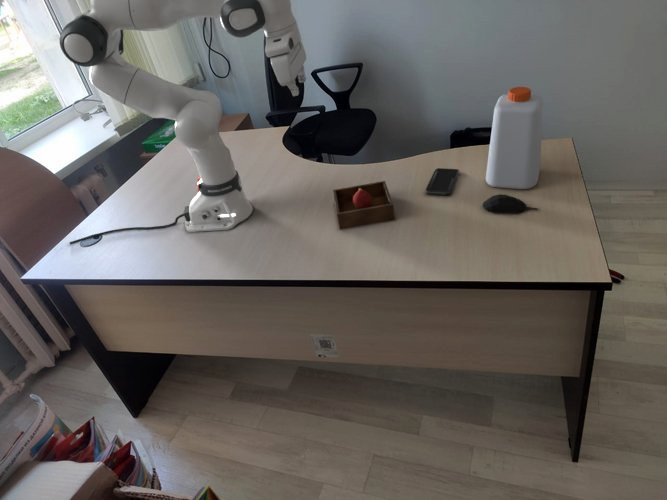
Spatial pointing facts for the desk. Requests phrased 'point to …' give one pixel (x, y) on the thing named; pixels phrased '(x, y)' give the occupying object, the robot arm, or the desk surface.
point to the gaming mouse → (505, 204)
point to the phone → (442, 182)
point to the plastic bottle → (515, 140)
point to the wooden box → (358, 217)
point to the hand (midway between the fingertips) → (299, 88)
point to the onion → (362, 199)
